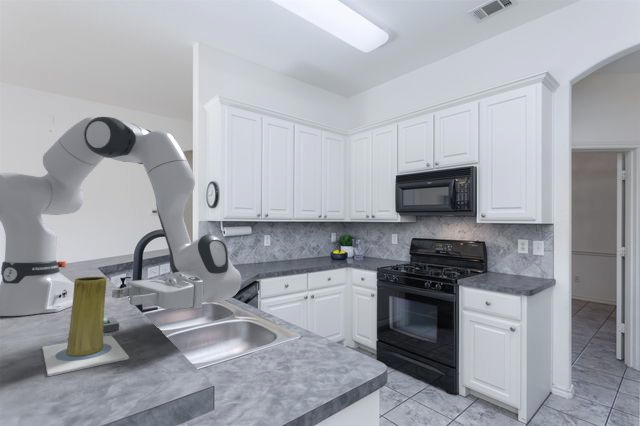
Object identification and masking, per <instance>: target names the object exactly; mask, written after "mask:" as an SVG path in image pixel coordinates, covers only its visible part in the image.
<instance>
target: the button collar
mask: <svg viewBox="0 0 640 426" xmlns="http://www.w3.org/2000/svg"><path fill="white" fill-rule="evenodd" d="M107 318H108V320H107V324H103V333H107V332H115V331H119V330H120V322H119V321H117V319H115V318H114V317H113V316H112V317H107Z"/></svg>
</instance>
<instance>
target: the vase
mask: <svg viewBox="0 0 640 426" xmlns="http://www.w3.org/2000/svg"><path fill="white" fill-rule="evenodd" d="M73 283H74V294H73V304H72V306H71V312H70V323H69V333H68V339H67V343H68V345H67V350H66V354H67V355H69V356H85V355H91V354H94V353H97V352H99V351H101V350H102V349H103V348H104V345H103V337H104V332H103V324H104V317H105V316H104V315H105V303H106V290H107V277H104V276H85V277H84V276H83V277H78V278H75V279H74V282H73Z"/></svg>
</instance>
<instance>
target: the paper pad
mask: <svg viewBox="0 0 640 426" xmlns="http://www.w3.org/2000/svg"><path fill="white" fill-rule="evenodd" d="M67 345H68V342H63V343H58V344H51V345H45V346H42V349H41V350H42V354H43V360H44V364H45V370H46V375H47V377H52V376H56V375H60V374H66V373H70V372H75V371H79V370H86V369H88V368H89V369H90V368H93V367H94V368H95V367H97V366H99V367H100V366H103V365H107V364H112V363H113V364H114V363H116V362H121V361H126V360H129V359H130V356H129V355H128V353H126V351H125V350H124V349H123V348H122V347H121V345H120V344H119V342H118V341H117V340H116V339H115V338H114V337H113V335H105V336H104V335H103V345H104V348H103V349H102V350H101V351H99V352H97V353H94V354H91V355H85V356H69V355H67V354H66V350H67Z"/></svg>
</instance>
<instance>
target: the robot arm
mask: <svg viewBox="0 0 640 426" xmlns="http://www.w3.org/2000/svg"><path fill="white" fill-rule="evenodd" d="M105 158H107V159H112V160H115V161H119V162H123V163H132V164H133V163H134V164H139V165H142V166H143V167H144V170H145V172H146V174H147V176H148V179H149V182H150V184H151V187H152V190H153V194H154V199H155V204H156V210H157V214H158V215H157V216H158V220H159V222H160V225H161V228H162V231H163V235H164V237H165V241H166V244H167V247H168V248H167V249H168V252H169V267H170V270H171V272H172V274H171V276H170V277H168V278H166V280H163V279H139V280H138V279H137V280H131V281H129V282H127V285H126V286H125V287H121V288H116V289H115V288H114V289H112V292H111V297H112V298H114V299H121V298H124V297H129V305H132V306H139V305H153V306H155V307H157V308H158V307H159V308H161V309H165V310H177V309H180V310H181V309H187V308H188V309H193V310H194V309H195V310H196V309H201V308H202V307H203V303H204V304H205V303H206V304H213V303H219V302H222V301H225V300H226V301H227V300H229V299H231V298H233V297H234V296H236V295H237V293H238V292H239V290H240V288H241V285H242V275H241V272H240V271H239V269H237V268H236V267H235V266H234V265H233V263H232V261H231V260H230V257H229V252H228V251H229V250H228V247H227V245H226V243H225V241H224V240H223V239H222V238H220V237H219V236H218V235H214V234H204V235H203V236H201V237H199V238H198V239H196V240H194V241H193V242H192V241H191V237H190V235H189V232H188V228H187V225H186V223H185V219H184V213H185V208H186V205H187V203H188V201H189V199H190V197H191V196H192V193H193V191H194V189H195V186H196V185H195V183H196V182H195V177H194V172H193V170H192V167H191V166H190V164H189V161H188V159H187V157H186V155H185V153H184V151H183V150H182V148H181V146H180V144H179V143H178V142H177V140H176V139H175V138H174V137H173V135H172V134H171V133H170V132H168V131H164V130H153V131H151V130H149V129H145V128H143V127H141V126H140V125H137V124H135V123H133V122H129V121H128V122H127V121H123V120H120V119H117V118H115V117H112V116H111V117H109V116H97V117H93V116H90V117H85V118H83V119H82V120H80V121H78V122H77V123H76V124H74V125H73V126H71V127H70V128H68V129H67V131H65V132H64V133H63V134H62V135H61V136H60V137H59V138H58V139H57V140H56V141H55V142H54V143H53V145H52V146H50V148H49V149H47V151H46V152H45V153H44V154H43V156H42V165H43V167H44V169H45V171H46V172H47V174H45V175H44V176H36V175H35V176H34V175H30V174H29V175H28V174H24V173H17V172H0V222H1V225H2V227H3V230H4V233H5V251H4V253H5V254H4V261H3V262H2V264H1V270H0V275H1V278H2V279H1V281H0V317H16V316H29V315H38V314H46V313H57V312H60V311H62V310H65V309H68V308H72V304H73V294H74V282H73V281H71V280H70V279H69V278H67V277H66V276H65V275H63V274H62V273H61V272H60V268H62V269H63V268H64V269H65V268H66V267H67V265H68V263H67V261H65V260H63V261H61V260H59V261H57V260H56V257H57V256H56V255H57V245H58V236H57V234H56V232H55V231H54V230H52V229H50V228H49V227H48V226H46V224H45V223H44V222H43V219H42V218H43V217H42V215H49V216H50V215H51V216H53V215H54V216H61V215H69V214H74V213H77V212H78V211H79V210H80V209H81V208H82V206H83V203H84V193H83V191H82V190H81V186H82V183H83V182H84V180H85V179H86V178H87V177H88V175H90V173H91V172H92V171H93V170H94V169H96V167H97V166H98V165H100V163H101V162H102V161H103V160H104V159H105Z"/></svg>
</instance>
